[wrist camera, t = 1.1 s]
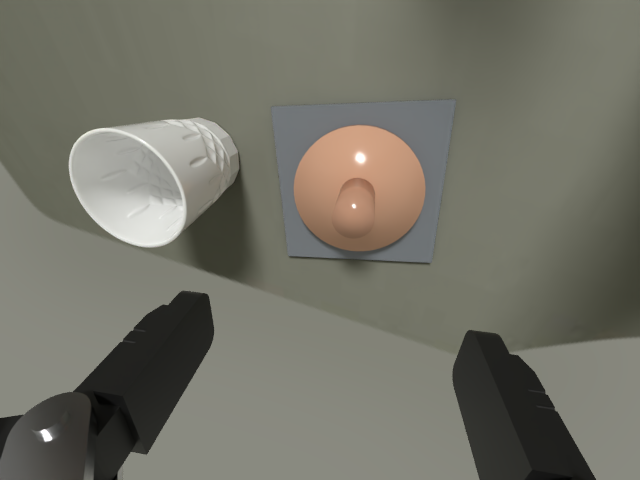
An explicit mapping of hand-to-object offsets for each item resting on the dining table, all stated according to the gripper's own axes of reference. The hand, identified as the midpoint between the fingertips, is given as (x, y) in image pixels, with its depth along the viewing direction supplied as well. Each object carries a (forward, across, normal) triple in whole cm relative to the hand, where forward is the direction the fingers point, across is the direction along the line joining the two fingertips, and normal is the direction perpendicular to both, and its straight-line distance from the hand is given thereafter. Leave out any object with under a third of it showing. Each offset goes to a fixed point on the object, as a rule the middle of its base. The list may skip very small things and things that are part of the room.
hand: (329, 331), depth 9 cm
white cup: (+20, +14, 0) cm, 24 cm away
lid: (+18, 0, +2) cm, 19 cm away
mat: (+19, 0, +2) cm, 19 cm away
